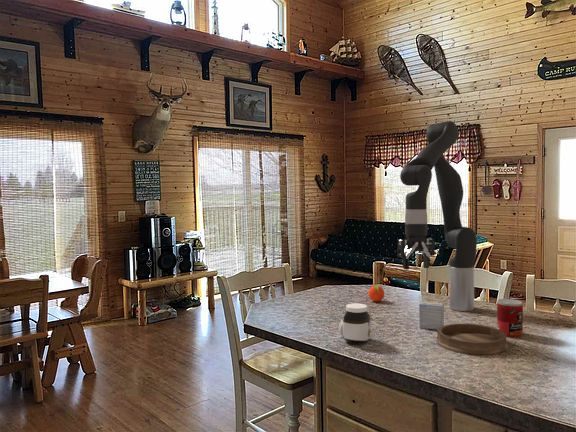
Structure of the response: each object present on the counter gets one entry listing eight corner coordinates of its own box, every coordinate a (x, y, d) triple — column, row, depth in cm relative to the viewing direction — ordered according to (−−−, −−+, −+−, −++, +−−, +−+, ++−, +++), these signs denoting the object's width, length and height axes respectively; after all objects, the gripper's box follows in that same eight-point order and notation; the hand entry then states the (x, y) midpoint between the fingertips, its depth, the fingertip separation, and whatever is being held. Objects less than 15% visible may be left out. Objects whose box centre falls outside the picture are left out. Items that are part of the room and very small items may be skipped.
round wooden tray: (458, 329, 166) (457, 319, 166) (519, 343, 150) (519, 332, 150) (423, 343, 152) (423, 332, 152) (487, 360, 136) (487, 348, 136)
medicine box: (444, 327, 169) (444, 303, 168) (442, 330, 165) (442, 306, 164) (421, 325, 172) (421, 301, 172) (419, 328, 168) (419, 304, 168)
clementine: (386, 303, 204) (386, 287, 204) (370, 304, 204) (370, 287, 204) (383, 299, 212) (382, 283, 212) (367, 299, 212) (367, 283, 212)
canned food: (512, 339, 155) (512, 305, 154) (491, 332, 162) (491, 300, 161) (528, 335, 158) (528, 302, 157) (507, 329, 165) (507, 297, 164)
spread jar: (361, 347, 150) (361, 310, 149) (329, 341, 156) (329, 306, 155) (376, 336, 160) (375, 302, 159) (345, 332, 166) (344, 299, 165)
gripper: (425, 221, 173) (425, 266, 174) (392, 222, 168) (392, 268, 168) (439, 222, 166) (439, 268, 167) (406, 223, 161) (406, 271, 161)
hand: (416, 268), depth 167 cm, fingers open, 8 cm apart
